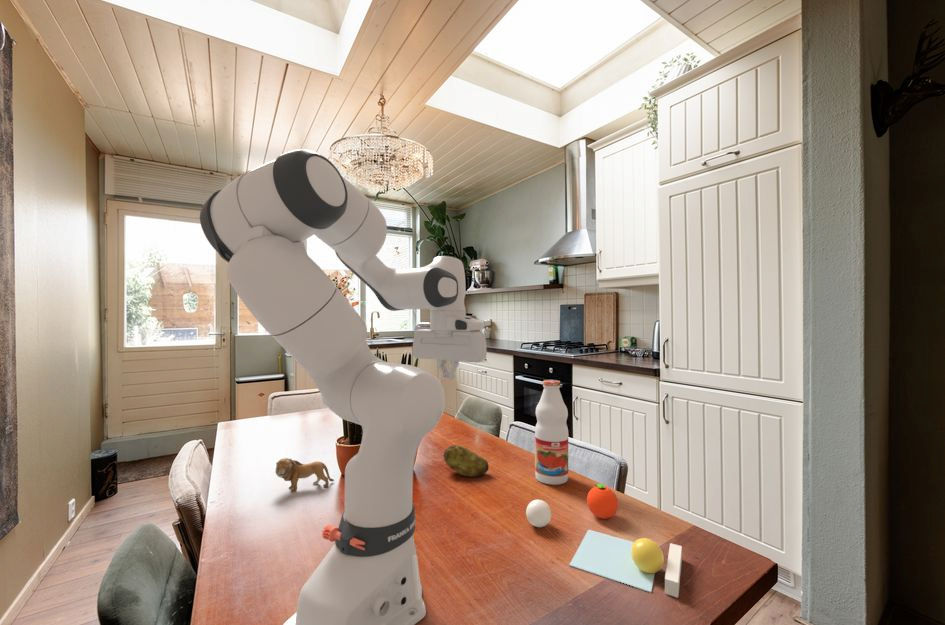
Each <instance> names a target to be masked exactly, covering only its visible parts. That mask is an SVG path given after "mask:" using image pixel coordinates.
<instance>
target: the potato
mask: <svg viewBox="0 0 945 625" xmlns="http://www.w3.org/2000/svg"><path fill="white" fill-rule="evenodd" d="M443 459H444V462H445V464H446V465H447V466H448V467H449V468H450V469H451V470H453V471H454V472H455V471H456V472H457V473H458V474H459V475H461V476H462V477H463V476H464V477H468V478H469V477H470V478H471V477H472V478H473V477H479V476H482V475H485V474H486V473H487V472H488V471H489V467H490V466H489V462H488V460H487V459H486V458H484V457H483V456H481V455H479V454H477V453H476V452H474V451H472V450H470V449H469V448H467V447H465V446H463V445H461V444H459V445H458V444H454V445H450V446H448V447H447V448H446V449H445V450H444V453H443Z"/></svg>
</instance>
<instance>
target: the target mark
mask: <svg viewBox="0 0 945 625" xmlns="http://www.w3.org/2000/svg"><path fill="white" fill-rule="evenodd" d="M634 542H635V541H631V540H627V539H625V538H621V537H616V536H613V535H611V534H610V535H609V534H606V533H603V532H599V531H595V530H592V529H588V530H587V531H586V533H585V535H584V536H583V539H582V540H581V542H580V544H579V546H578V548H577V549H576V551H575V553H574V555H573V557H572V558H571V561H570V563H569V565H568V566H569V567H572V568H575V569H578V570H581V571H583V572H588V573H590V574H593V575H596V576H599V577H602V578H605V579H607V580H611V581H614V582H616V583H620V582H621V583H620V584H623V583H624V584H623V585H626V584H627V585H626V586H629V585H630V586H629V587H632V586H633V587H632V588H635V589H638V590H641V591H643V592H647V593H652V592H653V586H654V580H655V575H656V572H655V573H646V572H643V571H642V570H640V569H639V568H638V567H637V566H636V565H635V563H634V562H633V559H632V556H631V548H632V545H633V543H634Z"/></svg>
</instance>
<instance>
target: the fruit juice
mask: <svg viewBox="0 0 945 625" xmlns="http://www.w3.org/2000/svg"><path fill="white" fill-rule="evenodd" d="M542 387H543V390H542V393H541V396H540V399H539V401H538V403H537V405H536V407H535V416H536V421H537V422H536V424H535V429H534V439H535V440H534V475H535V476H534V477H535V478H536V480H537V481H538V482H540V483H543V484H545V485H549V486H550V485H551V486H558V485H563V484H565V483H567V482H568V479H569V429H568V424H567V420H568V417H569V412H568V408H567V405H566V404H565V402H564V399H563V396H562V393H561V391H560V388H561V381H560V380H557V379H544V380H543V382H542Z"/></svg>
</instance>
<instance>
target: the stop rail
mask: <svg viewBox="0 0 945 625" xmlns="http://www.w3.org/2000/svg"><path fill="white" fill-rule="evenodd" d="M682 552H683V547H682V545H678V544H676V543H675V544H674V543H671V542H670V543H669V549H668V556H667V561H666V562H667V563H666V569H665V574H664V594H665V595H668V596H671V597H673V598H676V599H677V598H679V593H680V584H681V582H680V581H681V573H682V572H681V571H682V561H683V553H682Z"/></svg>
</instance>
